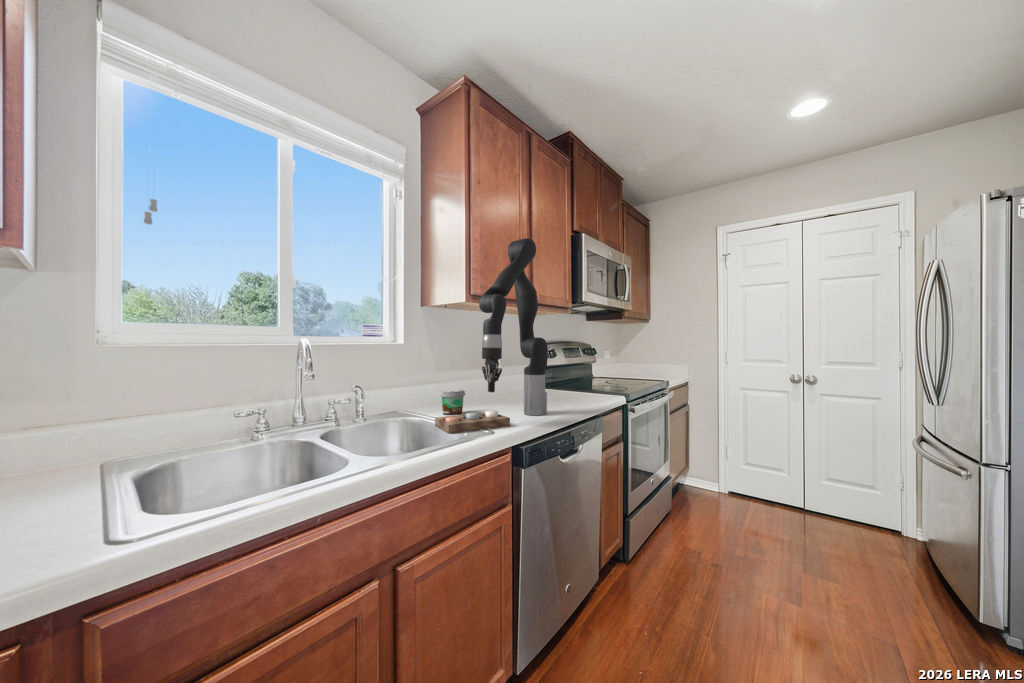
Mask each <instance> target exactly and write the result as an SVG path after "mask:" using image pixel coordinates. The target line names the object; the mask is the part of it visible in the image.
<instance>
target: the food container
mask: <svg viewBox="0 0 1024 683" xmlns="http://www.w3.org/2000/svg"><path fill="white" fill-rule="evenodd" d="M465 396H466V392H465V390H464V389H462V388H460V389H459V390H458V391H452V390H451V391H441V393H440V397H441V404H442V405H441V407H442V408H441V409H442V415H443V416H457V415H463V408H464V406H463V405H464V397H465Z"/></svg>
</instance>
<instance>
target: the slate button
mask: <svg viewBox="0 0 1024 683" xmlns="http://www.w3.org/2000/svg"><path fill="white" fill-rule="evenodd" d="M479 413H480V412H467V413H465V415H466V419H467V420H474V419H479Z"/></svg>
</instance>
